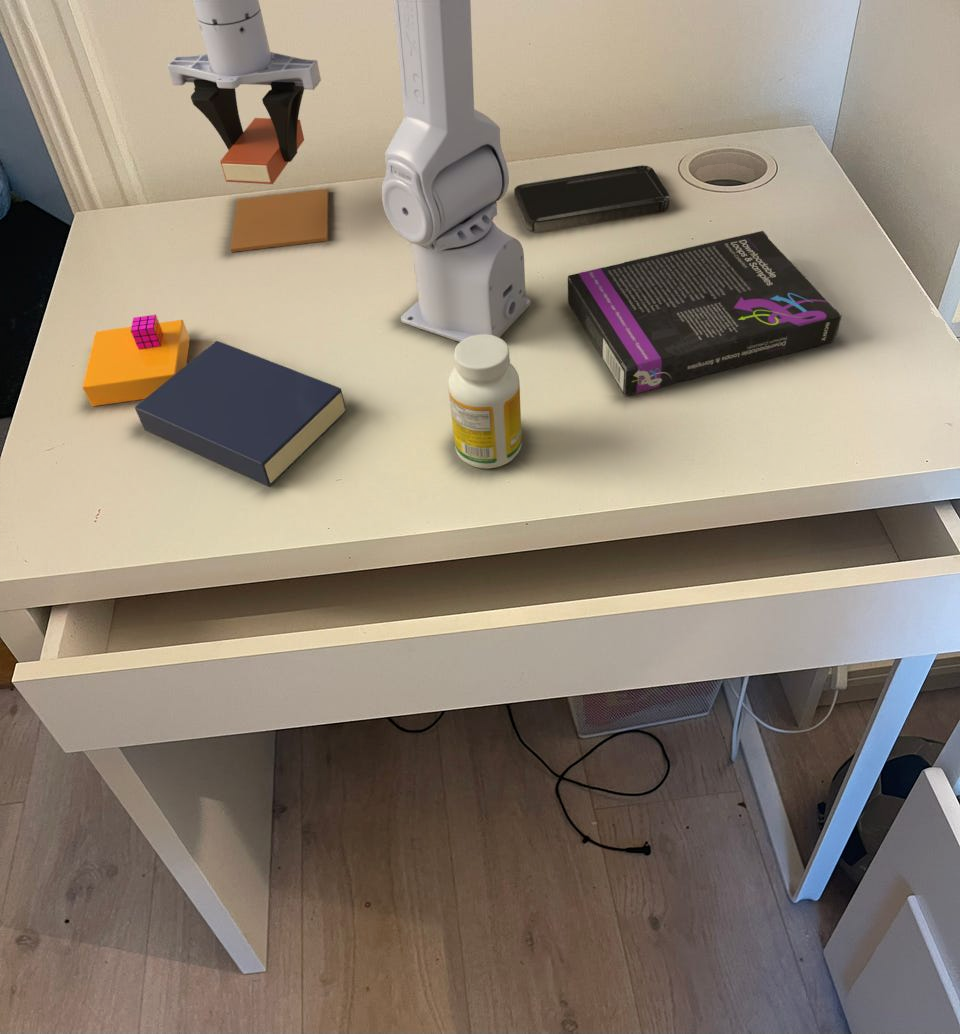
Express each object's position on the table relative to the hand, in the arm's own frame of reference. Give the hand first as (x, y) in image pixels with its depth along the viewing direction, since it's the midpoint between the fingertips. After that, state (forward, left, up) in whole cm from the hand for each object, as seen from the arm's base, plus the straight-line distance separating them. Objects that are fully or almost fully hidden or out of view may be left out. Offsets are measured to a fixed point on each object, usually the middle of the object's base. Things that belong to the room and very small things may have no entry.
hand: (264, 155), depth 96 cm
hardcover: (-18, +26, -7) cm, 33 cm away
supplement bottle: (-38, +19, -8) cm, 43 cm away
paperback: (0, 0, 0) cm, 0 cm away
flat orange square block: (-5, +25, -8) cm, 27 cm away
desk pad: (0, 0, -7) cm, 7 cm away
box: (-46, -3, -8) cm, 47 cm away
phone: (-28, -17, -7) cm, 34 cm away
